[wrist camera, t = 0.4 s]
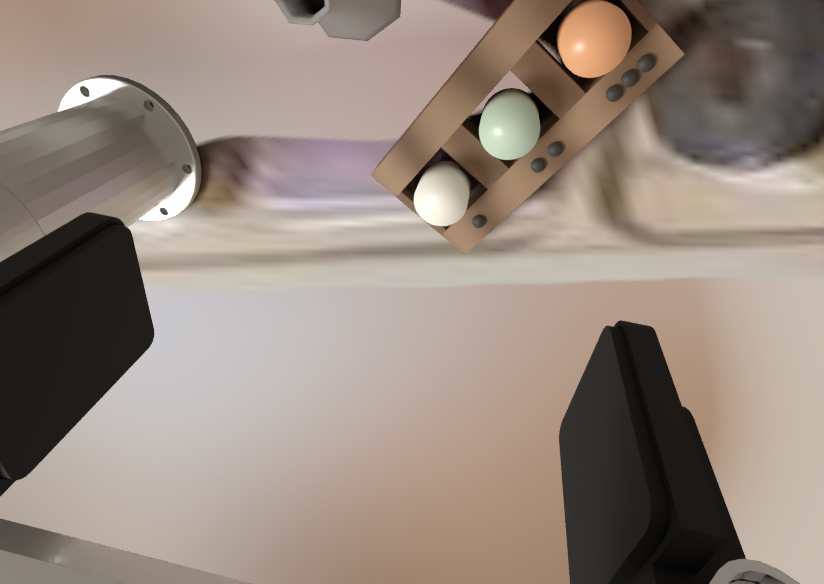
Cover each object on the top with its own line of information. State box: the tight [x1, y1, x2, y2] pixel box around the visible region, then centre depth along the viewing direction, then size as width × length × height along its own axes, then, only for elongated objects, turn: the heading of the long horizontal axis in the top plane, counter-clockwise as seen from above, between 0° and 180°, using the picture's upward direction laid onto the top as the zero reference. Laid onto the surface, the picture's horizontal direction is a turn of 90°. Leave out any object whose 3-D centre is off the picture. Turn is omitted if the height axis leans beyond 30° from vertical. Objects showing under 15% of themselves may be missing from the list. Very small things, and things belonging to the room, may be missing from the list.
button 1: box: [414, 161, 471, 226], centre depth 38 cm, size 4×4×3 cm
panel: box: [371, 0, 685, 254], centre depth 36 cm, size 20×10×3 cm, turn 141°
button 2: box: [479, 88, 540, 160], centre depth 34 cm, size 4×4×3 cm
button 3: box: [557, 0, 632, 78], centre depth 31 cm, size 4×4×3 cm
